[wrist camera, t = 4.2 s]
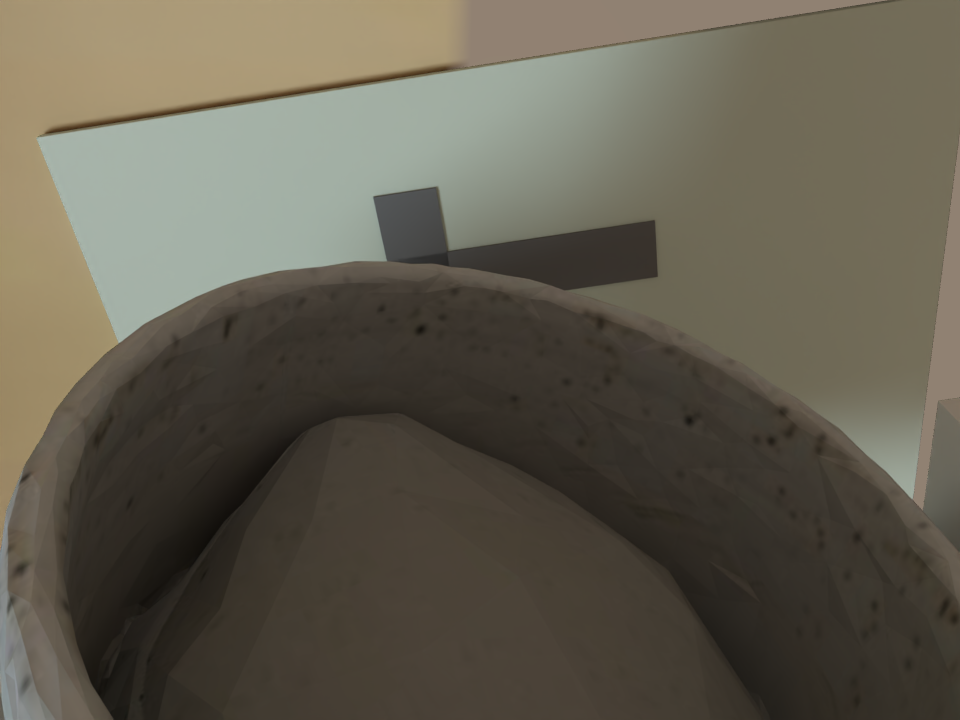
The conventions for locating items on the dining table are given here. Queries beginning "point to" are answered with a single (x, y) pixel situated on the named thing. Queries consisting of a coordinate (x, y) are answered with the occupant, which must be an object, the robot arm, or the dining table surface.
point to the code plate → (590, 193)
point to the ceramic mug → (458, 522)
